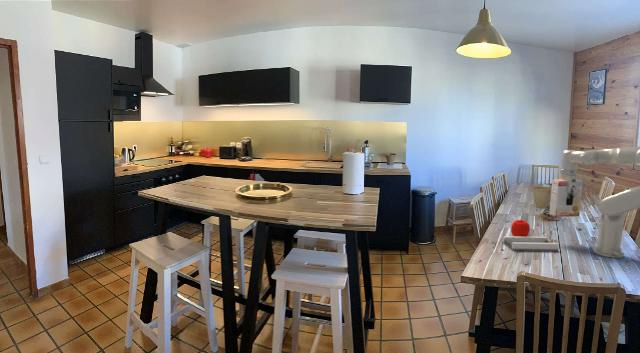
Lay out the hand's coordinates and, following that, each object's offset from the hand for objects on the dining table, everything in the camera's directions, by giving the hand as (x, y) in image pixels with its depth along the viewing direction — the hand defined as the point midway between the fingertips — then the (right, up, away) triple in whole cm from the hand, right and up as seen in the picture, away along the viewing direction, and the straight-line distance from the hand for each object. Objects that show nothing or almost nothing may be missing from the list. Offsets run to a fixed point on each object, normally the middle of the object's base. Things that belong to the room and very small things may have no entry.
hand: (565, 203), depth 202 cm
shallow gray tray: (-22, -24, -3) cm, 33 cm away
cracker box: (0, -7, +1) cm, 7 cm away
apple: (-21, -22, +8) cm, 32 cm away
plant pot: (+40, -10, +85) cm, 94 cm away
